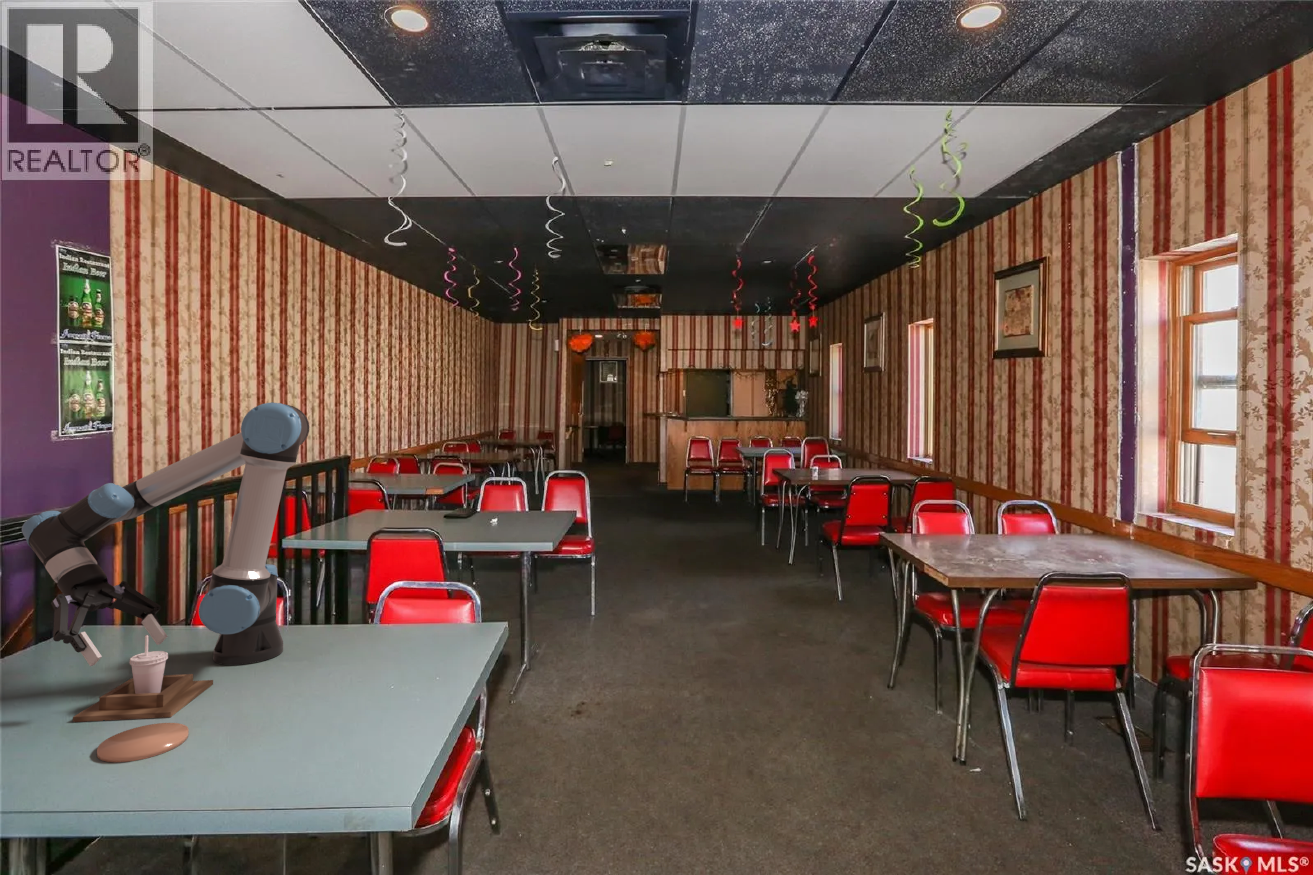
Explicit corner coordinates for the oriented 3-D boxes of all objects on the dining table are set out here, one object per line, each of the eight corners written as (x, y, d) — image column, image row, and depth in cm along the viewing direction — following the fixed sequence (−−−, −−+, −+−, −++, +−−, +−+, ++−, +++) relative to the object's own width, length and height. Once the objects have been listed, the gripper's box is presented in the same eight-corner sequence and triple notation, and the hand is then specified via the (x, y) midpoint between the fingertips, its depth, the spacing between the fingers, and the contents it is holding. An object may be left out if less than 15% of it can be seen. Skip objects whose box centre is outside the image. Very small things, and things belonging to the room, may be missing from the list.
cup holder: (213, 684, 144) (213, 668, 144) (170, 717, 128) (171, 699, 128) (127, 688, 141) (128, 672, 141) (72, 722, 125) (73, 704, 125)
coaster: (202, 726, 124) (202, 721, 124) (163, 759, 111) (164, 753, 111) (126, 730, 122) (126, 724, 122) (78, 764, 109) (78, 759, 109)
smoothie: (142, 695, 137) (144, 630, 137) (174, 695, 138) (175, 630, 138) (120, 708, 131) (121, 640, 131) (153, 708, 132) (155, 640, 132)
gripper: (127, 573, 151) (176, 643, 147) (-3, 599, 126) (53, 683, 123) (145, 552, 149) (196, 622, 146) (18, 574, 125) (75, 659, 122)
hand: (131, 650), depth 135 cm, fingers open, 13 cm apart
